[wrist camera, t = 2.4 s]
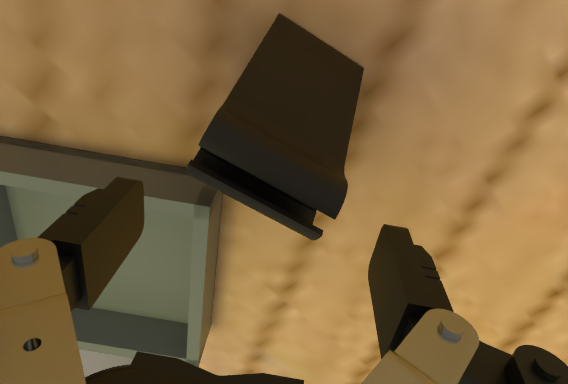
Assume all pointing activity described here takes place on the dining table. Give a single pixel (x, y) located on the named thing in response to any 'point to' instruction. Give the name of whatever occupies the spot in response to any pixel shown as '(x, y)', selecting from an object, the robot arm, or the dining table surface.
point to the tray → (144, 255)
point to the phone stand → (284, 130)
